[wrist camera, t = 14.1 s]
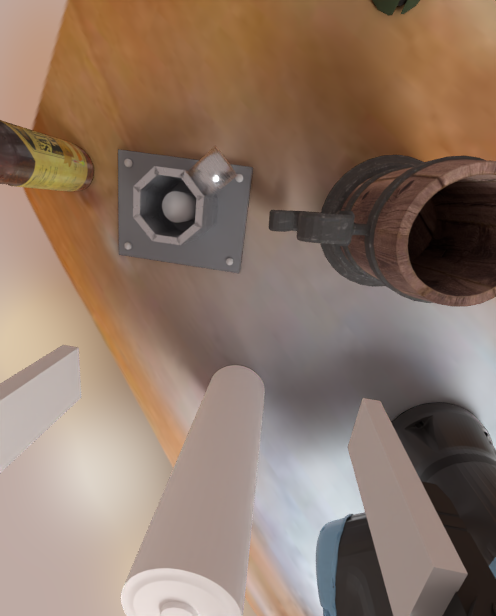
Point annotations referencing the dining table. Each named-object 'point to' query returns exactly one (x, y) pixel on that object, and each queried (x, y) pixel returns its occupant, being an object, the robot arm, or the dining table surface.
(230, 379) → the cylinder container
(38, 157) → the sauce bottle
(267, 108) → the dining table surface
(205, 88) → the dining table surface
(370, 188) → the tankard
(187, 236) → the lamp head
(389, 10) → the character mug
